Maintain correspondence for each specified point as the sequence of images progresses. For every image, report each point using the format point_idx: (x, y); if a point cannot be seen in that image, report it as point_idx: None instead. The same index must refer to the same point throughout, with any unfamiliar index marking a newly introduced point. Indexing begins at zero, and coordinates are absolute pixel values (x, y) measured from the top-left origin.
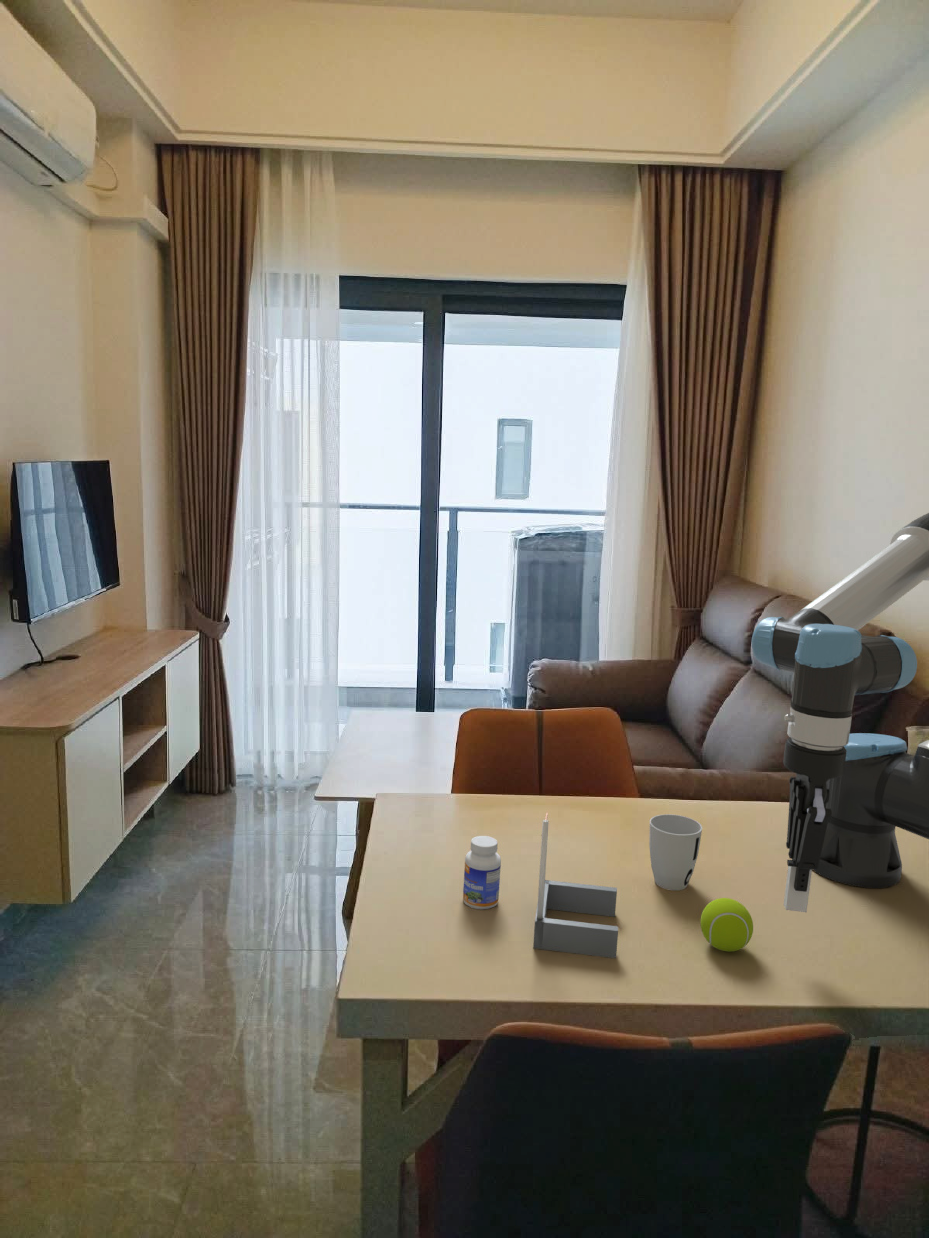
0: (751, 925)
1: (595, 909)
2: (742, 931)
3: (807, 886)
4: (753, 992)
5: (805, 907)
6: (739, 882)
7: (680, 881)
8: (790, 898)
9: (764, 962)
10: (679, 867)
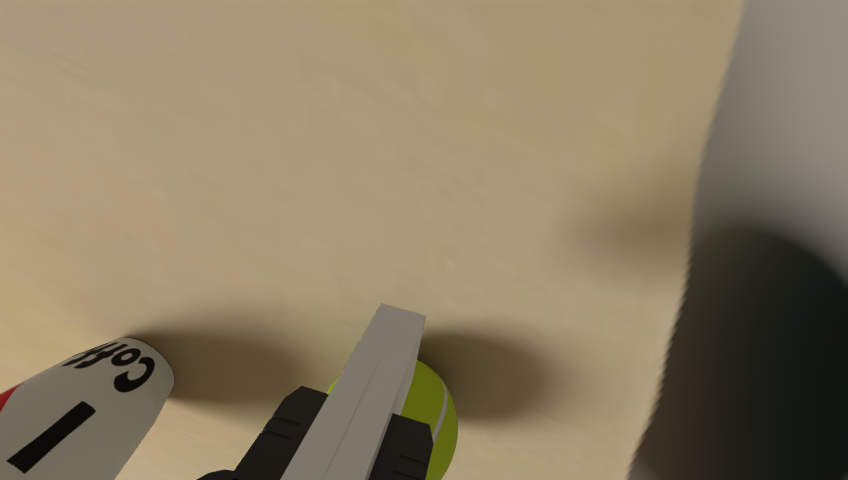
0: (421, 409)
1: None
2: (448, 436)
3: (390, 413)
4: (598, 399)
5: (419, 333)
6: (70, 211)
7: (156, 386)
8: (401, 408)
9: (468, 321)
10: (132, 427)
